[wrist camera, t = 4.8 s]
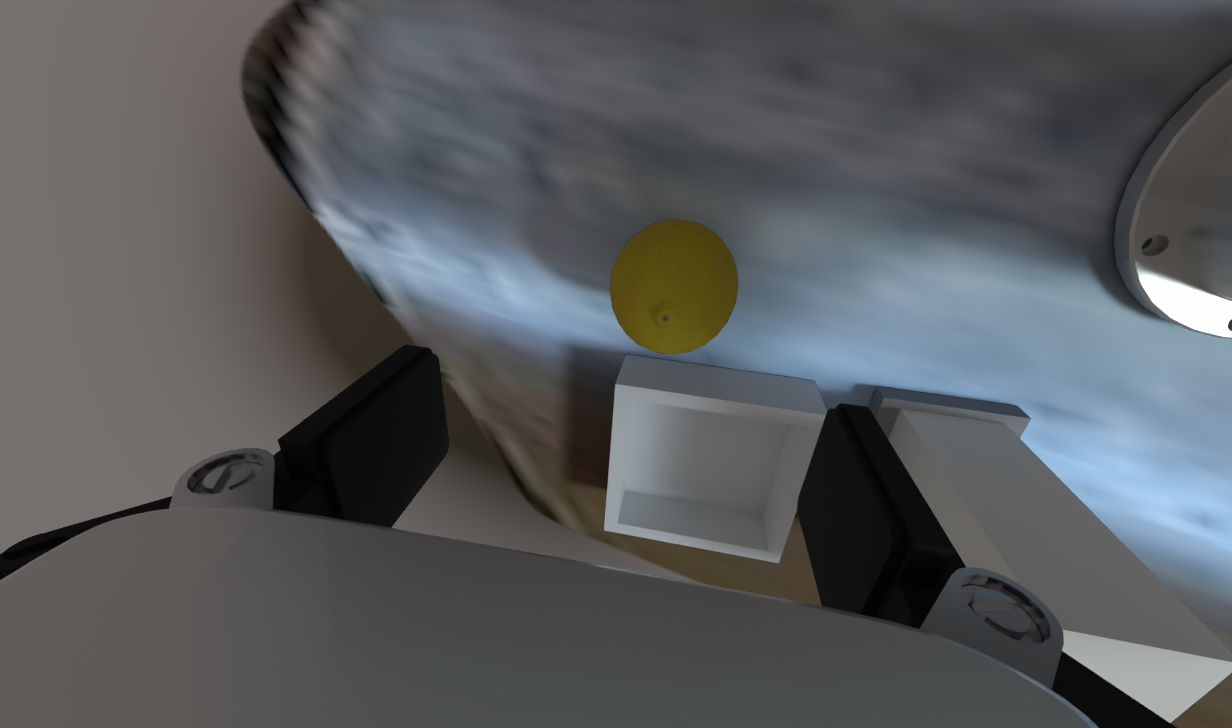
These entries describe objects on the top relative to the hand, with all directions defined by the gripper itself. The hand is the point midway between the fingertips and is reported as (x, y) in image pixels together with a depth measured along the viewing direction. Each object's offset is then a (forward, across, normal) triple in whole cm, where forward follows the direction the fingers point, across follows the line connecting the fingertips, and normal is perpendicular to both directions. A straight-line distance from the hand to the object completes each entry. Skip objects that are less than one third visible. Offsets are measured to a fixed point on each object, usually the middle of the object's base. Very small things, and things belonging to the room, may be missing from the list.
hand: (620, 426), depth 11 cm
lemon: (+15, -1, 0) cm, 15 cm away
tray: (+15, -4, +11) cm, 19 cm away
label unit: (+14, -16, +11) cm, 24 cm away
